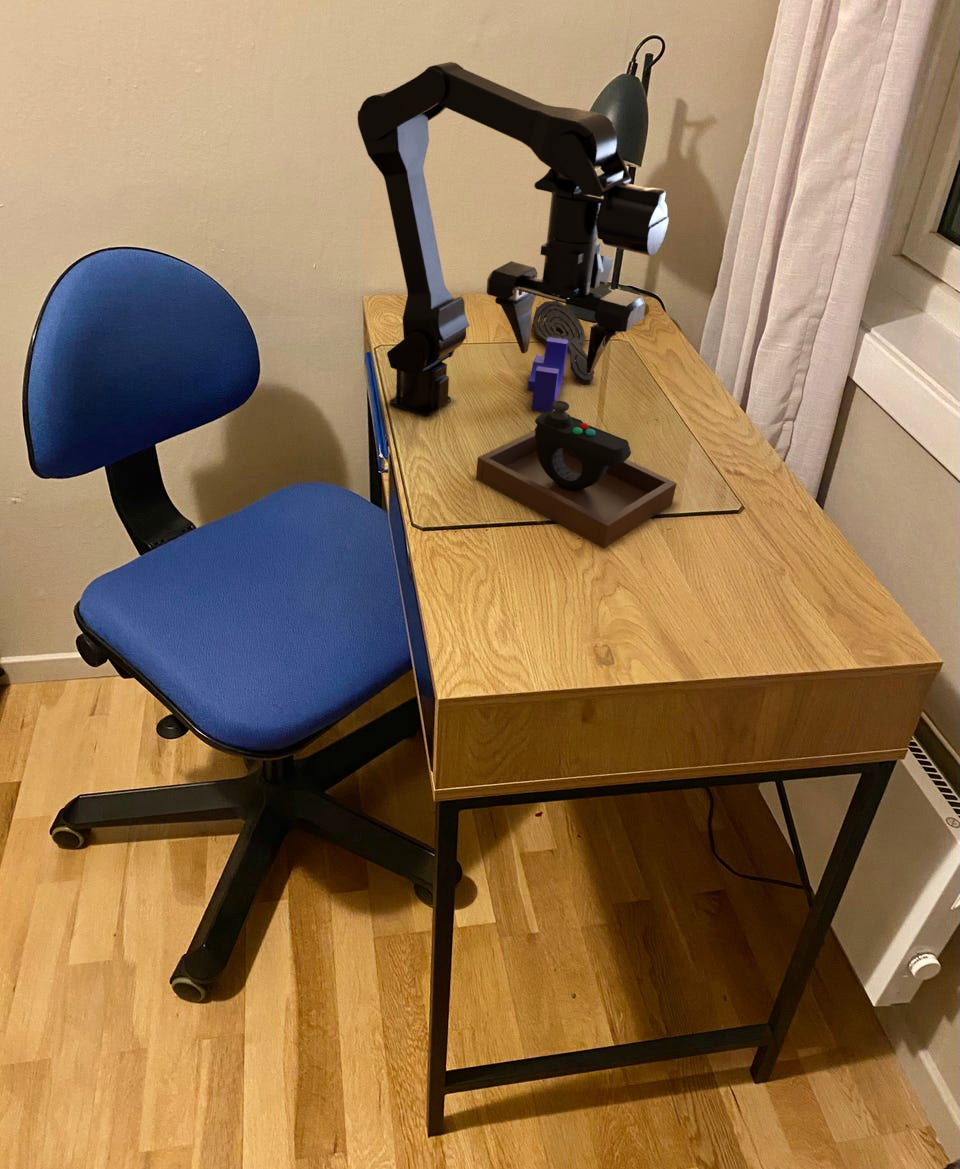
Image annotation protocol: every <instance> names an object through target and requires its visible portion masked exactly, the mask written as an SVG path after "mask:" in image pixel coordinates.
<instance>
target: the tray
mask: <svg viewBox="0 0 960 1169" xmlns="http://www.w3.org/2000/svg"><path fill="white" fill-rule="evenodd" d="M534 436H535V429H533V430H532V431H530V432H527V433H526V434H523V435H521V436H519V437H517V438H515V439H513V440H510V441H509V442H507V443H504V444H503V445H500V446H498V447H496V448H494V449H492V450H490V451H489V452H486V453H484V454H482V455H480V456H477V459H476V460H477V461H476V475H475V480H476V481H479V482H481V483H483V484H484V485H486V486H488V487H490V488H491V489H493V490H495V491H497V492H498V493H501V494H503V495H505V496H506V497H508V498H510V499H512V500H514V501H516V502H517V503H520V504H521V505H523V506H524V507H527V508H528V509H531V511H534V512H536V513H538V514H540V515H542V516H543V517H545V518H547V519H549V520H551V521H552V522H554V523H556V524H558V525H560V526H562V527H563V528H566V529H567V530H569V531H571V532H573V533H574V534H577V535H578V536H580V537H582V538H584V539H586V540H587V541H589V542H591V543H593V544H595V545H597V546H599V547H600V548H602V549H605V548H607V547H609V546H610V545H611V544H613V543H615V542H616V541H618V540H619V539H620V538H621V539H622V537H624V536H625V535H627V534H628V533H631V531H633V530H635V529H636V528H638V527H639V526H641V525H642V524H644V523H646V522H647V521H649V520H650V519H651V518H653V517H655V516H656V515H658V514H660V513H661V512H663V511H664V510H666V509H667V508H669V507H670V506H672V505H673V503H674V498H675V492H676V489H677V482H676V481H674V480H671V479H669V478H667V477H665V476H663V475H661V474H659V473H657V472H655V471H653V470H650V469H649V468H646V467H644V466H642V465H640V464H638V463H636V462H635V461H631V460H630V459H628V458H627V459H626V460H625V461H624V462H623V463H621V464H619V465H616V466H609V467H608V469H607V471H606V473H605V474H604V476H603V477H602V478H601V479H600V480H599V481H597V482H596V483H594V484H593V485H591V486H590V487H587V488H584V489H569V488H566V487H563V486H561V485H559V484H557V483H556V482H554V481H553V480H552V479H551V478H550V477H549V476H548V475H547V474H546V472H545V471H544V469H543V468H542V466H541V464H540V462H539V459H538V455H537V450H536V439H535V438H534ZM562 455H563V460H564V462H565V464H566V465H567V466H568V467H569V468H570V469H571V470H572V471H574V472H576V473H581V472H582V465H581V461H580V459H579V458H578V456H577V455H576V454H575V453H574V452H573V451H571V450H569V449H567V448H563V450H562Z"/></svg>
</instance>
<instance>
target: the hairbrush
mask: <svg viewBox="0 0 960 1169" xmlns="http://www.w3.org/2000/svg"><path fill="white" fill-rule="evenodd" d="M542 298H543V299H542V300H543V302H542V301H539V302H538V306H535V308H536V309H535V312H534V315H533V318H532V319H533V320H532V323H531V328H532V329H533V332H534V336H535V338H536V340H538V341H539V342H540V343H542V344H543V345H545V346H546V342H547V339H548V337H551V338H558V339H565V340H568V345H567V353H568V356H569V366H570V371H571V372H572V374H573V376H574V378H575V380H576V381H577V382H579V383H581V384H582V385H590V384H591V383H592V381H593V380H594V375H595V369H594V370H593V371H592V372H591V373H590V374H589V373H587V365H586V363H587V355H588V353H587V352H586V351H585V350H584V348H582V346H583V345H584V344H585V341H586V335H585V329H584V327H583V325H582V323H581V321H580V319H579V318H578V316H577V315H576V314H575V312H574V311H573V310H572V308H571V307H570V306H568V305H566V304H564V303H562V302H558V301H555V300H551V301H550V300H549V299H548V298H544V297H542ZM546 299H547V300H546ZM545 300H546V301H545ZM541 302H542V304H541ZM539 304H540V305H539Z"/></svg>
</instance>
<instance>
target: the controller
mask: <svg viewBox="0 0 960 1169" xmlns="http://www.w3.org/2000/svg"><path fill="white" fill-rule="evenodd" d="M552 408H553V409H554V410H553V411H547V412H542V413H540V414H539V415H538V416H537V417H536V418H535V419H534V423H535V424H536V426H535V428H534V430H535V436H534V438H535V439H536V450H537V455H538V459H539V462H540V464H541V466H542V468H543V469H544V471H545V472H546V474H547V475H548V476H549V477H550V478H551V479H552V480H553V481H554V482H556V483H557V484H559V485H561V486H563V487H566V488H569V489H584V488H587V487H590V486H591V485H593V484H594V483H596V482H597V481H599V480H600V479H601V478H602V477H603V476H604V474H605V473H606V471H607V469H608V467H609V466H616V465H619V464H621V463H623V462H624V461H625V460H626V459H627V460H628V458H630V457H631V455H632V450H631V447H630V444H629V440H627V439H624V438H622V437H621V436H617V435H615V434H612V433H609V432H608V431H605V430H602V429H599V428H597V427H595V426H592V425H589V424H588V423H586V422H583V421H582V420H581V419H578V418H575V417H573V416H571V415H570V414H569V413H568V412H566V411H568V410H569V409H570V404H569V403H568V402H567V401H564V400H556V401H555V402H553V403H552ZM563 448H567V449H569V450H571V451H573V452H574V453H575V454H576V455H577V456H578V458H579V459H580V461H581V465H582V472H581V473H576V472H574V471H572V470H571V469H570V468H569V467H568V466H567V465H566V464H565V462H564V460H563V455H562V450H563Z"/></svg>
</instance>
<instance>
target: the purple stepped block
mask: <svg viewBox="0 0 960 1169" xmlns="http://www.w3.org/2000/svg"><path fill="white" fill-rule="evenodd" d="M567 345H568V340H565V339H558V338H551V337H548V339H547V342H546V345H545V350H544V355H540V354H535V356H534V358H533V362H532V367H531V371H530V376H529V378H528V383H527V391H529V392H530V391H531V392H533V393H532V400H531V401H532V402H531V411H535V412H541V413H544V412H547V411H555V410H554V409H553V408H552V403H553V402H555V401H558V396H559V393H560V390H561V387H562V383H563V380H564V376H565V368H566V360H567V353H568V350H567Z"/></svg>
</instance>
